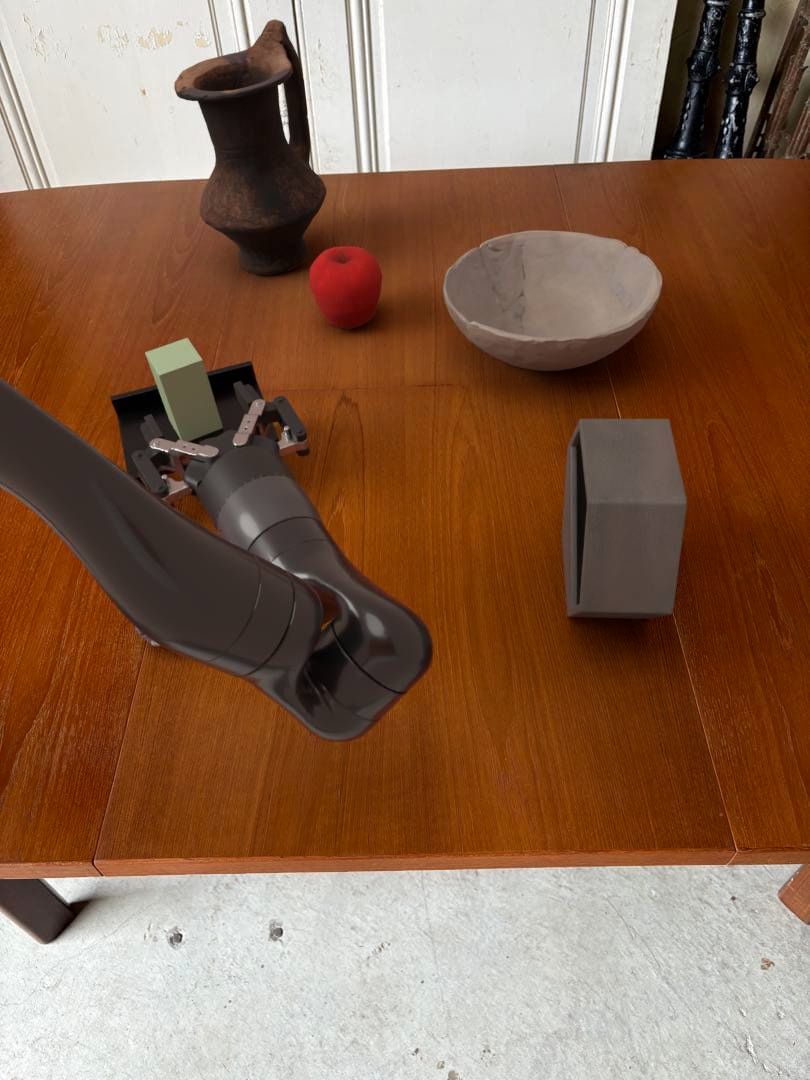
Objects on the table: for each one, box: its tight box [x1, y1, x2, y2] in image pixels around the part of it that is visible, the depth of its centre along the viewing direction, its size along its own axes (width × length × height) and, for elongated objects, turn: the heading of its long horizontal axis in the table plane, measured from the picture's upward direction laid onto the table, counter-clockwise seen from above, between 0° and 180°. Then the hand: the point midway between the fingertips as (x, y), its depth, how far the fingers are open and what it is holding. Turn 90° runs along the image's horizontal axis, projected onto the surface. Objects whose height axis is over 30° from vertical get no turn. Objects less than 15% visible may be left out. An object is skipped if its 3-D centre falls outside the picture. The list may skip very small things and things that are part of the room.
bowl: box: [442, 229, 663, 372], centre depth 104 cm, size 26×26×10 cm
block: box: [144, 337, 223, 442], centre depth 85 cm, size 5×5×9 cm
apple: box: [308, 245, 383, 330], centre depth 110 cm, size 10×10×11 cm
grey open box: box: [561, 418, 688, 620], centre depth 74 cm, size 17×8×21 cm
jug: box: [173, 18, 327, 276], centre depth 115 cm, size 21×18×30 cm
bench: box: [109, 360, 280, 487], centre depth 91 cm, size 16×12×10 cm
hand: (194, 406), depth 74 cm, fingers open, 8 cm apart
